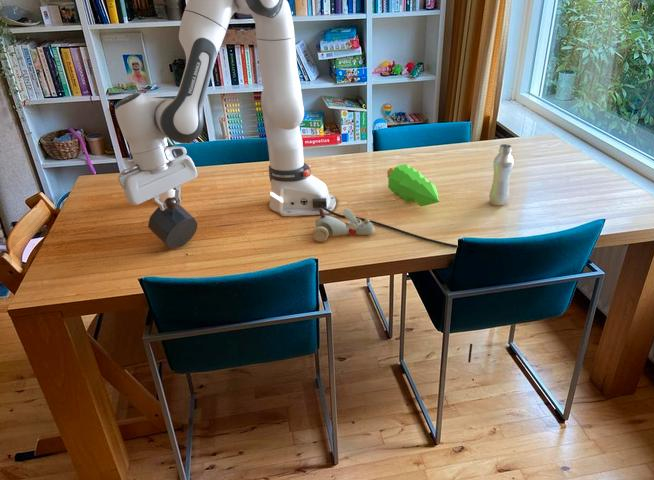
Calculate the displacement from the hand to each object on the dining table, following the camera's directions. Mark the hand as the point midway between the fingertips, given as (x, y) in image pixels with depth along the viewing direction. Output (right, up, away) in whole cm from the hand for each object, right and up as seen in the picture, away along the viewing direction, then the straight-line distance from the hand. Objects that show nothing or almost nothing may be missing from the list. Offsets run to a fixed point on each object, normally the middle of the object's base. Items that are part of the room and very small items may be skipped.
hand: (171, 206), depth 151 cm
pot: (-3, -8, +12) cm, 14 cm away
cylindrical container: (-14, +6, +38) cm, 41 cm away
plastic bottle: (+99, +5, +34) cm, 104 cm away
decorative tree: (+70, +5, +35) cm, 78 cm away
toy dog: (+46, -7, +16) cm, 49 cm away
